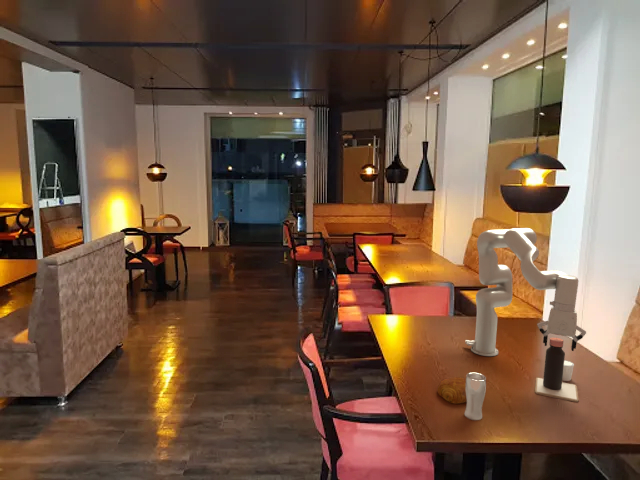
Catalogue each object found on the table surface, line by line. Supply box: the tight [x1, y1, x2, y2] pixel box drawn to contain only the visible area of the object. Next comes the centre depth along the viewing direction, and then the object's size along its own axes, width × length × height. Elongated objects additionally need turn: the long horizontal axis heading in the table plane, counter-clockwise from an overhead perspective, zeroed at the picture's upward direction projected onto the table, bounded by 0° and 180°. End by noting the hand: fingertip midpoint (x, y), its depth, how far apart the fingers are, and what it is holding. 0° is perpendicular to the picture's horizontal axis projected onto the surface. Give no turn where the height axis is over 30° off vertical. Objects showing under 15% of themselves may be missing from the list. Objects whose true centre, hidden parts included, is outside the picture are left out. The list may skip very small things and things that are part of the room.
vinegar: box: [543, 337, 566, 390], centre depth 190 cm, size 7×7×20 cm
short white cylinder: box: [562, 359, 575, 382], centre depth 201 cm, size 7×7×7 cm
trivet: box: [534, 376, 579, 403], centre depth 190 cm, size 15×15×1 cm
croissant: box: [437, 376, 466, 405], centre depth 184 cm, size 14×16×8 cm
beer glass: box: [464, 372, 487, 421], centre depth 168 cm, size 7×7×15 cm
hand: (558, 347), depth 188 cm, fingers open, 9 cm apart
